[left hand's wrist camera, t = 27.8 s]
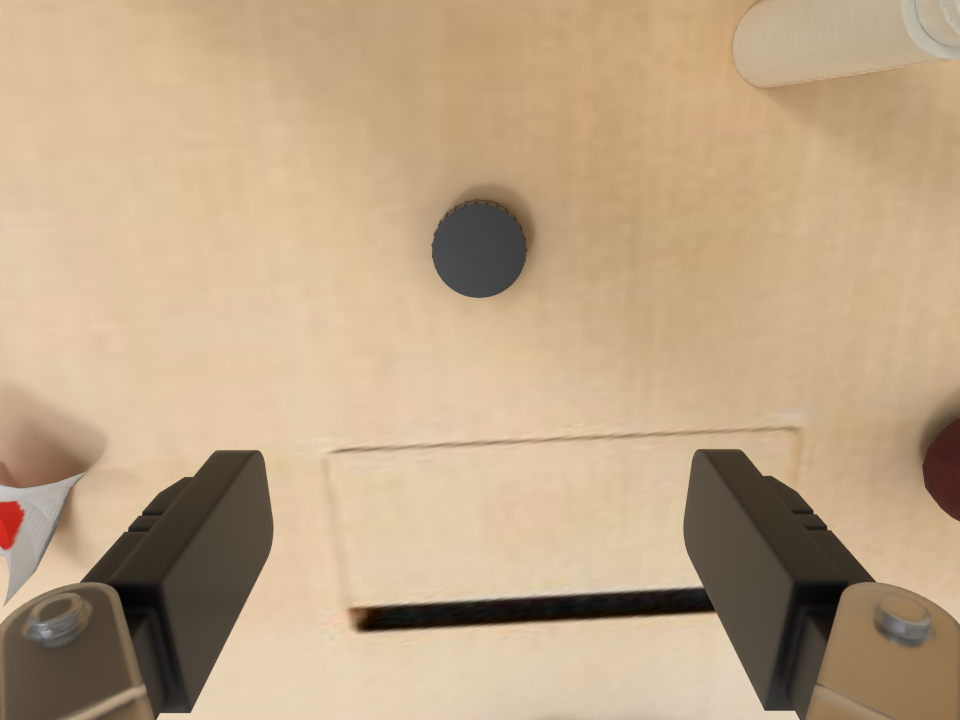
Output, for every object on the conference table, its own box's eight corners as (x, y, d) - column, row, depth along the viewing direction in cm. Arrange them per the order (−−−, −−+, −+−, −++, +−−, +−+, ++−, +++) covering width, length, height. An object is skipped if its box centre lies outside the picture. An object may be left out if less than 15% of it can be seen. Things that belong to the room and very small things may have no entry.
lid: (542, 254, 36) (546, 261, 34) (470, 307, 38) (470, 317, 36) (488, 179, 35) (489, 182, 33) (415, 237, 36) (411, 242, 34)
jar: (716, 66, 33) (911, 13, 18) (761, -20, 31) (1012, -156, 17) (785, 101, 33) (1028, 78, 19) (832, 18, 32) (1136, -79, 17)
